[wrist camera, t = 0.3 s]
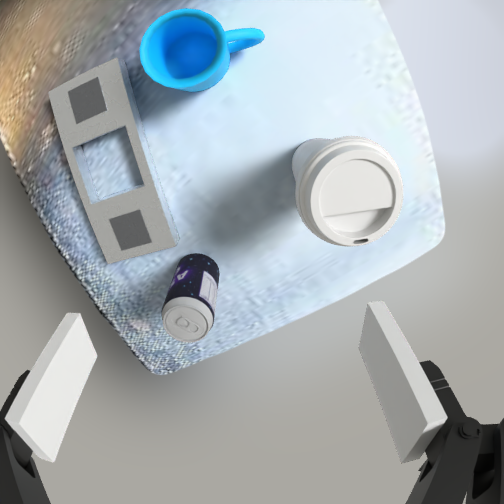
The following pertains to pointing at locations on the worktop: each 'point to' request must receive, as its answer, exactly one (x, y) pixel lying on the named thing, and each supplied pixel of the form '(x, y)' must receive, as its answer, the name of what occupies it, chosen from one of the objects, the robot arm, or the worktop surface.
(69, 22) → the worktop surface
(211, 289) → the beverage can
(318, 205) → the coffee cup
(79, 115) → the white compartment tray
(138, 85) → the worktop surface
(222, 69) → the mug
